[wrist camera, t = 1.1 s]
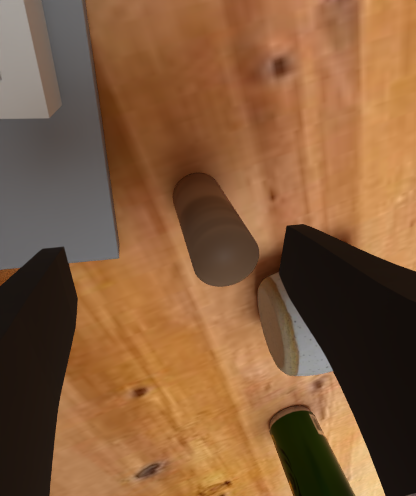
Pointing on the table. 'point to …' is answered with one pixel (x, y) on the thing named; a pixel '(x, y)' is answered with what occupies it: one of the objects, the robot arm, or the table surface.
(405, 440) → the robot arm
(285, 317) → the ceramic mug
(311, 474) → the beer can
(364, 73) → the table surface
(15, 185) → the panel
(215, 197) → the dowel
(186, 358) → the table surface
